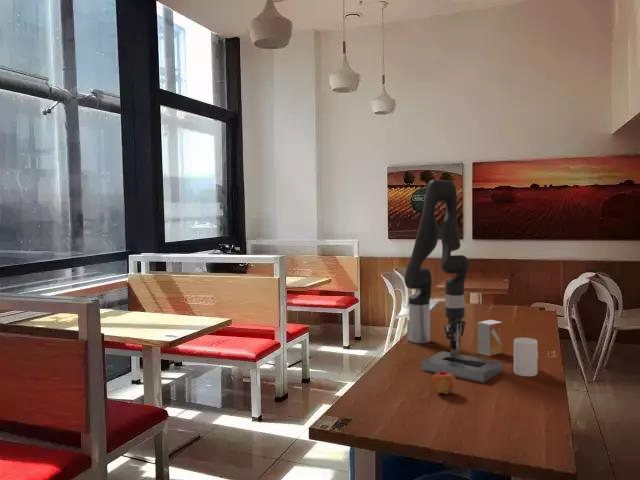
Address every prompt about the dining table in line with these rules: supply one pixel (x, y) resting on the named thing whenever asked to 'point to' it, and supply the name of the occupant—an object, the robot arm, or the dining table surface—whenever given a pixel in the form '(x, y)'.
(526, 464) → the dining table surface
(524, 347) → the mug
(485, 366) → the keyhole plate
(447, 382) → the apple
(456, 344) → the stud
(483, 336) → the small box
